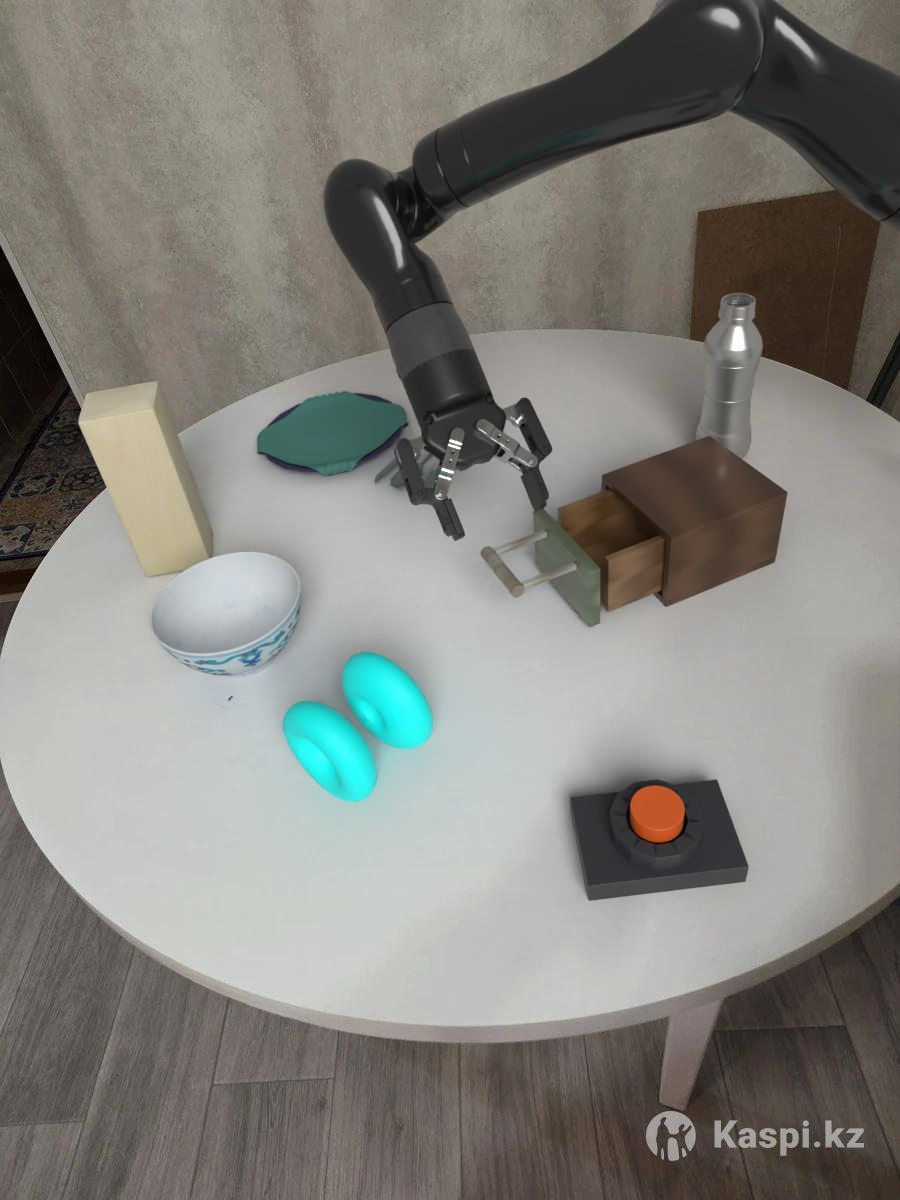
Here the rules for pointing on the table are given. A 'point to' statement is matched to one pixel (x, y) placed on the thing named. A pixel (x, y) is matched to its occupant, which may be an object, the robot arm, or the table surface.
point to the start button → (657, 814)
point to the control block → (656, 844)
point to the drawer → (590, 555)
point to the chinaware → (228, 613)
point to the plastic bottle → (730, 374)
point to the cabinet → (703, 514)
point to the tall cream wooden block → (147, 476)
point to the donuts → (379, 705)
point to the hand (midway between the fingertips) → (501, 523)
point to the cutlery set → (336, 435)
